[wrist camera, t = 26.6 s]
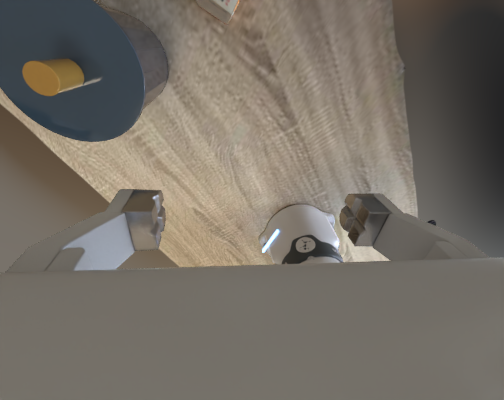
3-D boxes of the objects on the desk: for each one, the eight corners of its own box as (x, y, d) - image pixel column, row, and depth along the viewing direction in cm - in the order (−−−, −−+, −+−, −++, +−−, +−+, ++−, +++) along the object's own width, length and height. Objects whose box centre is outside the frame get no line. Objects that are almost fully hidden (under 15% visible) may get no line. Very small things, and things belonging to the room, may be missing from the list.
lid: (171, 115, 25) (161, 129, 21) (66, 153, 26) (36, 175, 21) (89, -47, 18) (48, -75, 13) (-51, 15, 19) (-131, 7, 14)
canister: (182, 88, 37) (162, 112, 24) (116, 113, 38) (63, 149, 25) (141, -2, 30) (84, -35, 18) (63, 31, 31) (-45, 22, 18)
